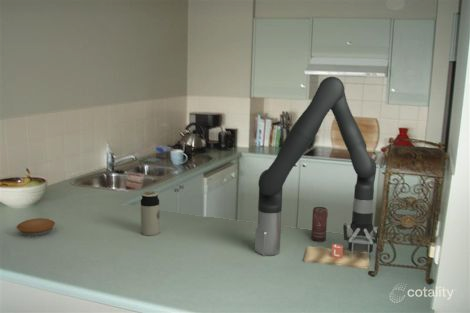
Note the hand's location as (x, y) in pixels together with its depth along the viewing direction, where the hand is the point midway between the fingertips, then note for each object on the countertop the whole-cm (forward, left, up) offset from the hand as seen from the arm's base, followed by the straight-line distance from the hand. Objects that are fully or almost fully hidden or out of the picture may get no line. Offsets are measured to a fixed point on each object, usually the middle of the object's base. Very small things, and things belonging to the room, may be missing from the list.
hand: (360, 251), depth 185 cm
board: (-6, +6, -4) cm, 9 cm away
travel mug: (-57, +69, -4) cm, 90 cm away
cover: (0, 0, -1) cm, 1 cm away
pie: (-100, +94, -4) cm, 137 cm away
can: (+2, +25, -4) cm, 26 cm away
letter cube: (-6, +6, -3) cm, 9 cm away
